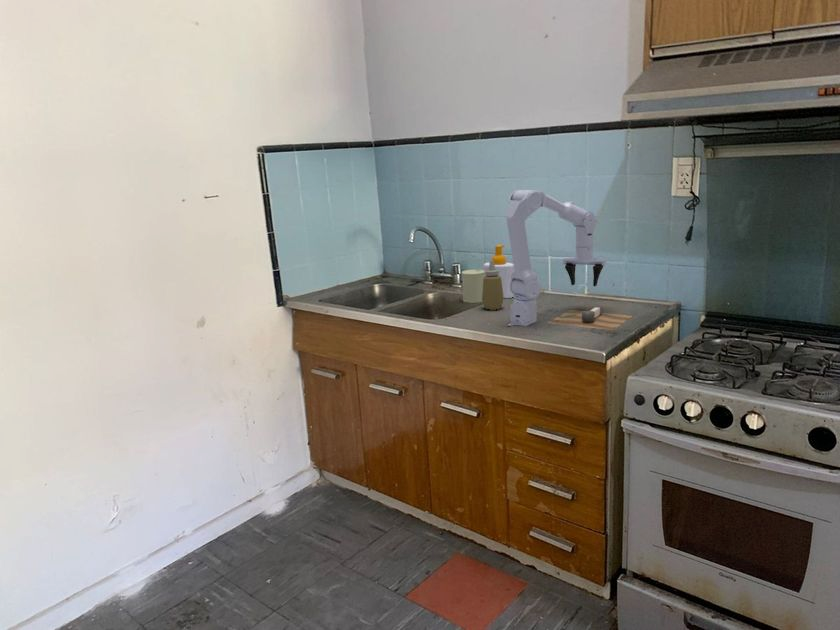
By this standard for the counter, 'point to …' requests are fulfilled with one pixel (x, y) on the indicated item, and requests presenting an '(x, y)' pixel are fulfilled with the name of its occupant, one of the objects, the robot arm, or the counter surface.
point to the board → (600, 322)
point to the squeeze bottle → (492, 289)
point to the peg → (591, 314)
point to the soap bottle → (502, 270)
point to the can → (472, 285)
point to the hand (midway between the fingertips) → (584, 285)
